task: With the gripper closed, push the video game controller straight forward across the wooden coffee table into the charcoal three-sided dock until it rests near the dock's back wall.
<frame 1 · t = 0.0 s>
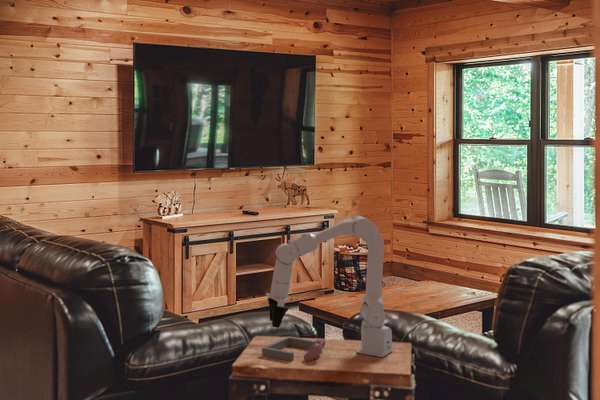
hand: (274, 323, 234), 11 cm above the table, tool pointing down, fingers open, 7 cm apart
controller dock: (288, 351, 240), on the table
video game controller: (315, 357, 235), on the table
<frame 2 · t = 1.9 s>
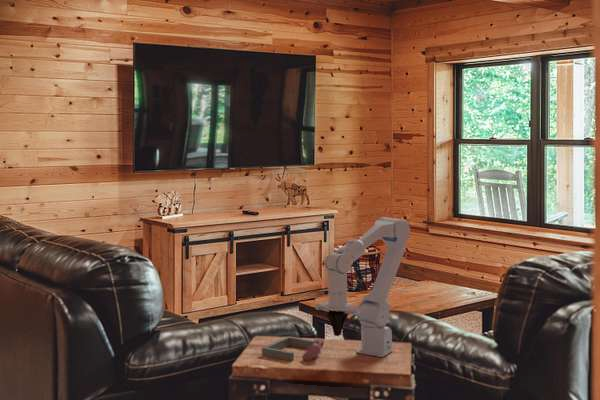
hand: (337, 335, 229), 8 cm above the table, tool pointing down, fingers closed
nothing on the table moved.
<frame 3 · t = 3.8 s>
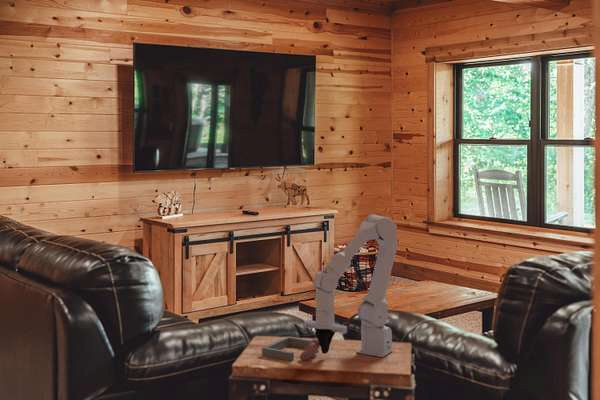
hand: (325, 352, 232), 2 cm above the table, tool pointing down, fingers closed
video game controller: (311, 357, 235), on the table, touching gripper
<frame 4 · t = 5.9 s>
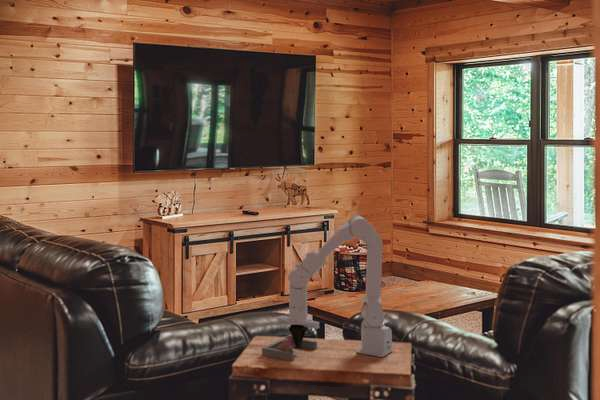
hand: (298, 347, 238), 2 cm above the table, tool pointing down, fingers closed
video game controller: (287, 352, 240), on the table, touching controller dock, gripper
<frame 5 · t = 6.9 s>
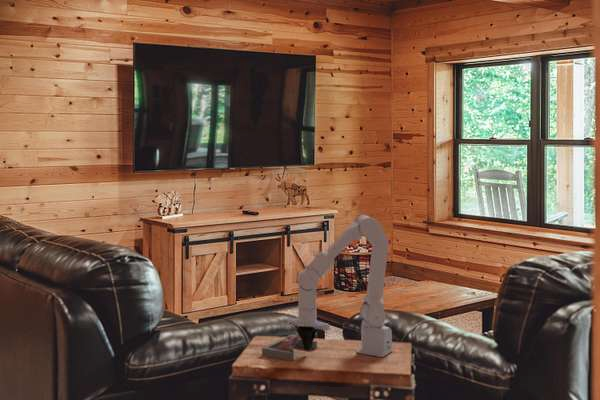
hand: (307, 349, 236), 2 cm above the table, tool pointing down, fingers closed
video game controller: (287, 352, 240), on the table, touching controller dock
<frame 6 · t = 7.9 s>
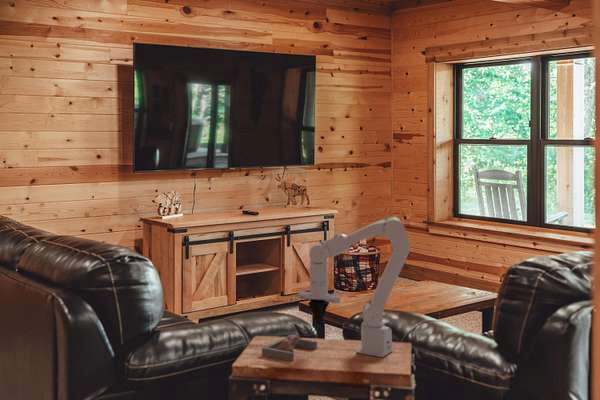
hand: (319, 322, 240), 9 cm above the table, tool pointing down, fingers closed
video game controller: (287, 353, 240), on the table
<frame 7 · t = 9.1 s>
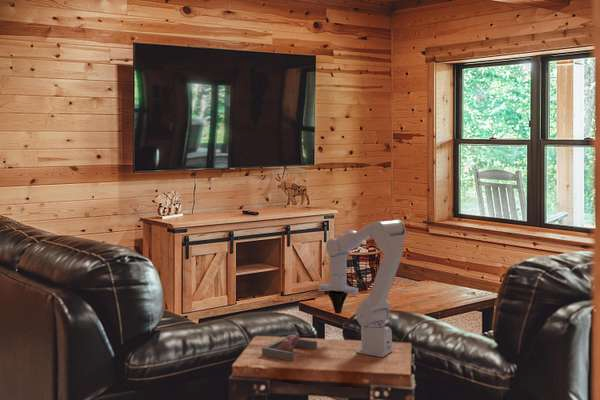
hand: (338, 313, 252), 9 cm above the table, tool pointing down, fingers closed
nothing on the table moved.
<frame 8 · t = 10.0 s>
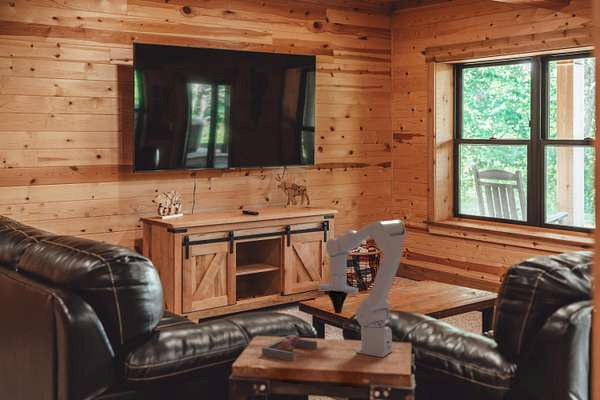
hand: (338, 313, 252), 9 cm above the table, tool pointing down, fingers closed
nothing on the table moved.
at the end: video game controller 1.1 cm off-centre on the controller dock, point 0.0 cm above the controller dock's base; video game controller tilted 0°; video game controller moved 10.5 cm from its start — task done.
